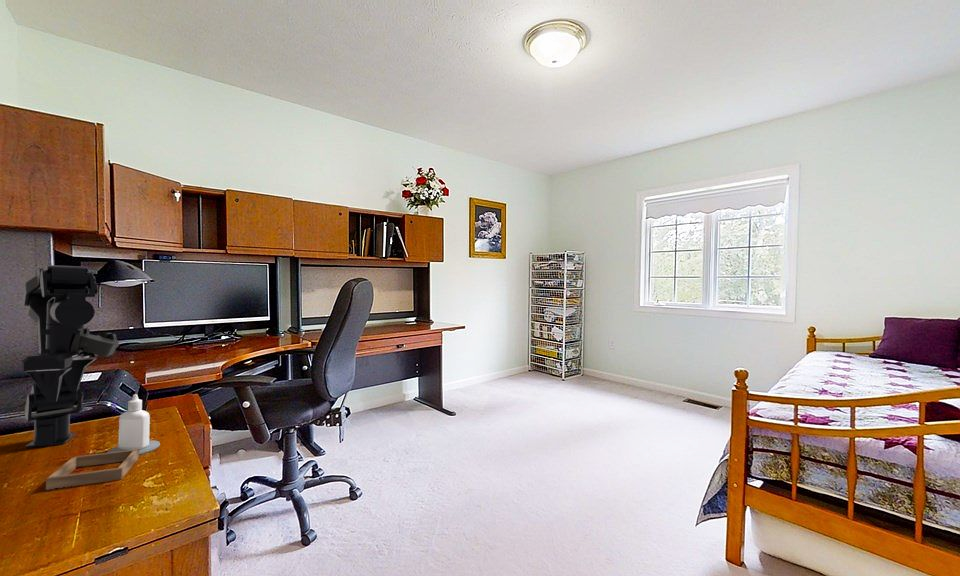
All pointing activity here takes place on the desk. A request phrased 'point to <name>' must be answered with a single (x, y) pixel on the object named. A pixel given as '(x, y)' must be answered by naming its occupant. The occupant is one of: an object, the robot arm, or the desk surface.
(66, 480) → the walnut collar
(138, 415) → the eye dropper bottle
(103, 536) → the desk surface
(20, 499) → the desk surface
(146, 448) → the rubber coaster
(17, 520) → the desk surface
